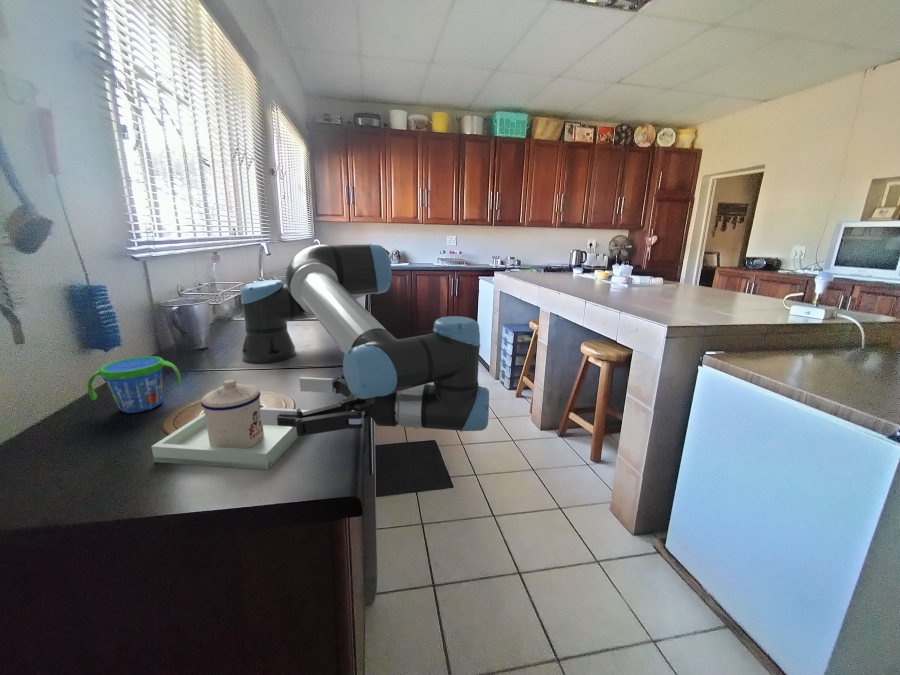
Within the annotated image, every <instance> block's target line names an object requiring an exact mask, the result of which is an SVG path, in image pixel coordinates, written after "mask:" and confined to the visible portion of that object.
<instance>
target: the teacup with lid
mask: <svg viewBox="0 0 900 675" xmlns="http://www.w3.org/2000/svg"><path fill="white" fill-rule="evenodd" d="M260 397H261V391H260V390H259V388H257V387H256V386H254V385H250V384H241V383H237V381H236V379H225V380H224V381H223V383H222V385H221V386H219V387H218V388H216V389H214V390H210V392H208V393H206V394H205V395H203V397H202V399H201V404H200V405H201V407H202V408H203V411H204V412H203V413H205V419H206V425H207V431H208V437H209V443H210V447H222V448H238V449H247V448H250V447H252V446H254V445H255V444H257V443H258V442H259V441H260V440H261V439H262V438H263V435H264V431H263V425H261V419H260V411H259V409H260V408H261V400H260Z"/></svg>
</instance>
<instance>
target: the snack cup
mask: <svg viewBox="0 0 900 675" xmlns="http://www.w3.org/2000/svg"><path fill="white" fill-rule="evenodd" d="M164 367H169V368H172V370H173V371H174V373H175V376H176V382H177V388H180V387H181V386H180V385H181V381H182V378H181V373H180V371H179V370H180V369H179V368H178V367H177V366H176V365H175V364H174V363H173V362H170V361H169V360H165V359H163V357H160V356H155V355H153V356H152V355H149V356H147V355H146V356H136V357H130V358H129V357H128V358H122V359H119V360H116V361H111V362H109V363H107V364H105V365H103V366H102V367H100V369H98V370H96V371H95V372H94V373H92V375H91V376H90V377H89V380H88V382H87V393H88V395H89V397H90V399H91V400H92V401H95V400H97V398H98V394H97V393H96V391H95V388H94V386H93V382H94V380H95V378H96V377H97V376H101V378H102V379H103V380H104V382H105V383H106V384H107V386H108V387H107V388H109V391H110V393H111V395H112V397H113V399H114V402H115V403H116V405H117V407H118V409H119V410H120V411H121V412H123V413H127V414H133V413H141V412H145V411H148V410H152V409H153V408H156V407H158V406H159V405H160V404H162V403H163V400H164V394H163V391H164V389H163V388H164V386H163V382H164V381H163V368H164Z"/></svg>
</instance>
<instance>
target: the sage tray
mask: <svg viewBox="0 0 900 675" xmlns="http://www.w3.org/2000/svg"><path fill="white" fill-rule="evenodd" d="M260 407H261V406H260ZM262 407H263V406H262ZM262 407H261V408H262ZM310 410H311V409H301V411H302V412H306V411H310ZM263 431H264V435H263V438H262V439H261V440H260V441H259V442H258V443H257V444H255V445H254V446H252V447H250V448H247V449H238V448H222V447H210V443H209V437H208V431H207V425H206V419H205V413H204V412H203V413H202V414H200V415H198V416H196V417H195V418H194V419H192V420H190V421H189V422H187V423H186V424H184V425H183V426H181V427H179V428H178V429H176V430H175V431H173V432H171V433H170V434H168V435H167V436H165V437H164V438H162V439H161V440H159V441H157V442H156V443H155V444H153V445H151V446H150V448H151V452H152V456H153V461H154V463H159V464H161V463H163V464H175V465H179V464H180V465H192V466H206V467H217V468H218V467H219V468H220V467H221V468H234V469H250V470H264V471H268V470H269V469H271V468H272V467H273V465H274V464H275V463H276V462H277V461H278V460H279V459H280V458H281V457H282V455H284V453H285V452H287V450H288V449H289V448H290V447H291V446H292V445H293V443H294V442H295V441H296V440H298V438H299V437H300V436H297V431H296V427H289V426H275V425H263Z"/></svg>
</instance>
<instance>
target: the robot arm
mask: <svg viewBox="0 0 900 675" xmlns="http://www.w3.org/2000/svg"><path fill="white" fill-rule="evenodd" d="M391 283H392V264H391V260H390V257H389V254H388V252H387V251H386V249H385V248H384V247H383V246H382V245H378V244H372V243H368V244H316V245H315V244H314V245H312V246H309V247H306V248H304V249H302V250H300V251H299V252H298V253H297V254H296V255H295V256H294V257H293V258H292V259H291V260H290V262H289V264H288V265H287V269H286V273H285V283H284V282H283V280H281V279H271V280H270V279H268V280H261V281H256V282H251V283H248V284H246V285H244V286H243V287H242V288H241V292H240V293H241V305H242V312H243V320H244V321H243V322H244V328H245V329H244V330H245V337H244V341H243V345H242V346H243V347H242V350H241V354H242V360H244V362H248V363H254V364H261V363H262V364H263V363H265V364H267V363H268V364H269V363H274V362H281V361H283V360H287V359H288V360H289V359H290V358H292V357H293V356H295V355H296V346H295V344H294V342H293V340H292V337H291V336H290V333H289V331H288V325H287V323H288V322H291V321H292V322H293V321H299V320H308V319H316V320H317V321H318V322H319V324H320V325H321V326H322V327H323V329H324V330H325V331H326V333H327V334H328V335H329V336H330V338H331V339H332V341H333V342H334V343H335V344H336V345H337V346H338V348H339V349H340V351H342V353H343V354H344V356H343V361H342V370H343V373H342V374H341V375H340V376H341V377H340V376H336V377H334V378H332V377H331V378H329V377H328V378H327V377H310V376H309V377H308V376H301V377H299V388H300V389H299V390H300V392H306V393H307V392H308V393H309V392H311V393H326V394H327V393H328V394H333V393H334V392H335V394H336V395H337V394H341V395H343V396H345V397H346V398H344V399H340V400H339V401H338V403H336V404H331V405H327V406H323V407H319V408H315V409H309V410H310V411H306V412H302V411H301V410H302V409H301V408H297V409H296V408H282V407H281V408H280V407H263V406H262V408H260V409H259V411H260V419H261V425H275V426H289V427H296V431H297V436H299V437H304V436H309V435H311V436H312V435H316V434H322V433H327V432H333V431H339V430H346V429H347V430H349V429H362V428H363V419H369V418H370V419H373V420H374V423H375V425H376V426H380V427H393V428H394V427H395V428H396V427H397V426H398V425H399V426H400V427H403V428H414V429H415V430H416V429H417V430H418V429H421V428H422V429H429V430H430V429H432V430H446V431H447V430H448V431H459V432H462V433H463V432H477V431H478V432H481V431H484V430H486V429H487V427H488V425H489V412H490V411H489V409H490V391H489V390H490V389H488V388H487V387H483V386H482V385H481V386H480V385H479V378H478V377H479V364H480V363H479V360H480V348H481V336H480V335H481V333H480V324H479V323H478V322H477V321H476V320H475V319H473V318H470V317H467V316H459V315H458V316H455V315H451V316H450V315H449V316H442V317H439V318H437V319H436V320H434V323H433V328H432V332H433V333H428V334H424V335H423V334H422V335H417V336H416V335H415V336H410V337H405V338H399V339H398V338H396V337H395V336H394V335H393V334H392V333H391V332H390V331H389V330H387V329H386V328H385V327H384V326H383V325H382V324H381V323H380V322H379V321H378V320H377V319H376V317H374V316H373V315H372V314H371V313H370V312H369V311H368V309H366V308H365V307H364V306H363V305H362V304H361V303H360V302H359V301H358V299H360V298H362V297H365V296H367V295H373V294H376V295H380V294H382V293H383V294H384V293H386V292H388V290H389V289H390V287H391ZM431 383H433V384H431Z"/></svg>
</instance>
